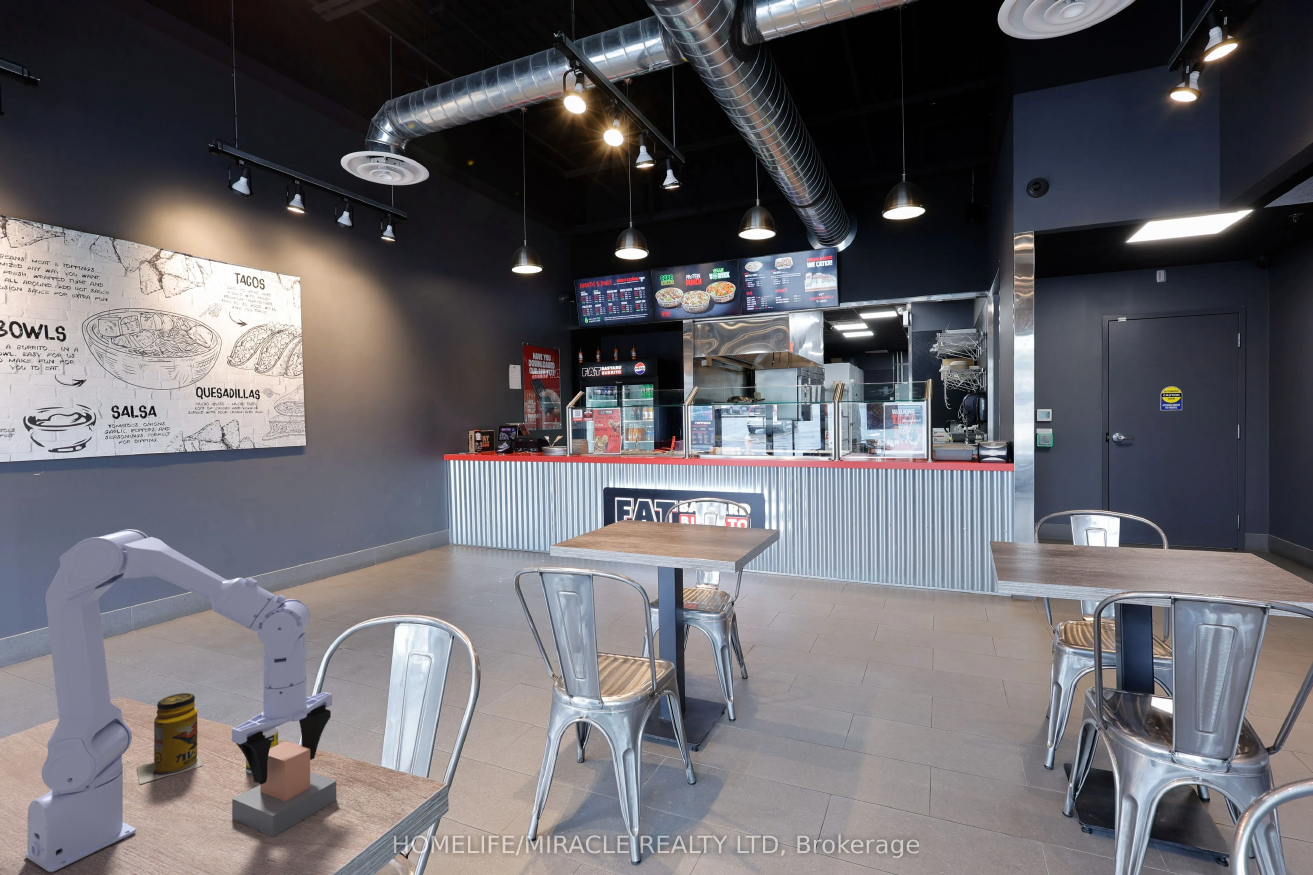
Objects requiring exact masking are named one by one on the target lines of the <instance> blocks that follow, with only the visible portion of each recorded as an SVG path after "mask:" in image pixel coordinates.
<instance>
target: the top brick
mask: <svg viewBox="0 0 1313 875" xmlns="http://www.w3.org/2000/svg"><path fill="white" fill-rule="evenodd" d="M310 772H311V760H310V749H309V748H306V747H302V745H298V744H296V743H292V742H290V741H286V740H284V741H283V742H281V743H278V745H276V746H274V747H272V748H270V750H269V755H268V763H267V781H266V783H264V784H259V785H260V792H262V793H265V794H267V795H270V796H273V797H275V798H278V799H280V800H283V801H287V800H288V799H290V798H292V797H294V796H296V795H297V794H299V793H301V792H303V791H305V790H307V789H308V788H310Z"/></svg>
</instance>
